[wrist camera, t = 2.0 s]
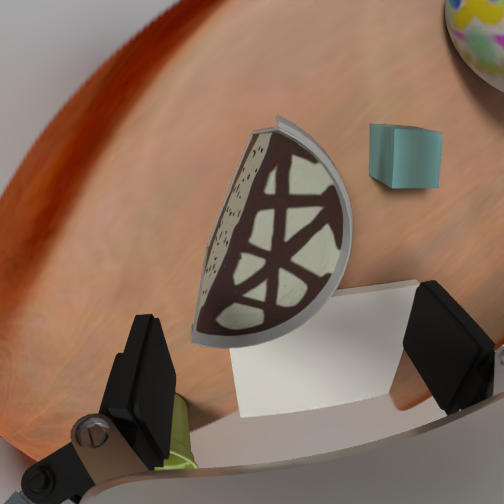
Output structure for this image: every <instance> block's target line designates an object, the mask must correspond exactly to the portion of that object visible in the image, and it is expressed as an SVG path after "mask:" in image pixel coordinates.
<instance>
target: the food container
mask: <svg viewBox="0 0 504 504" xmlns="http://www.w3.org/2000/svg"><path fill="white" fill-rule="evenodd" d="M276 120H277V127H272V128H267V129H261V130H256V131H252V133H251V135H250V138H249V140H248V143H247V145H246V147H245V150H244V152H243V155H242V157H241V160H240V162H239V165H238V167H237V170H236V172H235V174H234V177H233V180H232V182H231V185H230V187H229V190H228V192H227V195H226V197H225V200H224V202H223V205H222V208H221V210H220V213H219V215H218V218H217V221H216V223H215V226H214V228H213V231H212V234H211V236H210V239H209V242H208V244H207V248H206V253H205V259H204V264H203V270H202V276H201V282H200V288H199V294H198V300H197V306H196V313H195V319H194V325H192V327H191V344H195V345H199V346H204V347H212V348H242V347H248V346H254V345H259V344H262V343H266V342H269V341H272V340H275V339H277V338H279V337H282V336H284V335H286V334H288V333H290V332H292V331H293V330H295V329H297V328H298V327H300V326H302V325H303V324H304V323H306V322H307V321H308V320H309V319H311V318H312V317H313V316H314V315H315V314H316V313H317V312H318V311H319V310H320V309H321V308H322V307H323V306H324V305H325V304H326V303H327V302H328V300H329V299H330V297H331V296H332V294H333V293H334V292H335V290H336V289H337V287H338V285H339V283H340V281H341V279H342V277H343V275H344V272H345V269H346V266H347V263H348V259H349V256H350V250H351V243H352V235H353V223H352V211H351V206H350V202H349V197H348V194H347V192H346V189H345V187H344V184H343V182H342V179H341V177H340V175H339V173H338V171H337V169H336V167H335V165H334V164H333V162H332V161H331V159H330V158H329V156H328V155H327V153H326V152H325V150H324V149H323V148H322V147H321V146H320V145H319V144H318V143H317V142H316V141H315V140H314V139H313V138H312V136H310V135H309V134H308V133H306V132H305V131H304V130H302V129H301V128H300V127H298V126H297V125H296V124H294V123H292V122H291V121H289V120H287V119H285V118H283V117H281V116H279V115H277V116H276Z"/></svg>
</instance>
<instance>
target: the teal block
mask: <svg viewBox="0 0 504 504" xmlns="http://www.w3.org/2000/svg"><path fill="white" fill-rule="evenodd" d="M441 150H442V133H441V132H436V131H432V130H428V129H423V128H418V127H413V126H401V125H386V124H370V158H369V175H370V176H372V177H373V178H375V179H377V180H379V181H380V182H382V183H384V184H385V185H387V186H389V187H390V188H438V187H439V177H440V165H441Z"/></svg>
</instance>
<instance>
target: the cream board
mask: <svg viewBox="0 0 504 504" xmlns="http://www.w3.org/2000/svg"><path fill="white" fill-rule="evenodd" d="M419 285H420V283H419V282H418V281H417V280H416V279H413V280H406V281H399V282H392V283H385V284H378V285H370V286H362V287H354V288H346V289H338V290H335V292H334V293H333V294H332V296H331V297H330V299H329V300H328V302H327V303H326V304H325V305H324V306H323V307H322V308H321V309H320V310H319V311H318V312H317V313H316V314H315V315H314V316H313V317H312V318H311V319H309V320H308V321H307V322H306V323H304V324H303V325H302V326H300V327H298V328H297V329H295V330H293V331H292V332H290V333H288V334H286V335H284V336H282V337H279V338H277V339H275V340H272V341H269V342H266V343H262V344H259V345H254V346H248V347H242V348H230V355H231V361H232V368H233V374H234V381H235V387H236V393H237V399H238V405H239V411H240V417H253V416H264V415H273V414H282V413H290V412H297V411H305V410H311V409H318V408H324V407H329V406H335V405H340V404H345V403H351V402H355V401H360V400H365V399H369V398H374V397H378V396H382V395H386V394H388V393H389V390H390V388H391V385H392V382H393V379H394V376H395V374H396V371H397V368H398V365H399V362H400V359H401V355H402V352H403V349H404V347H403V338H404V334H405V331H406V327H407V324H408V320H409V316H410V312H411V308H412V304H413V300H414V296H415V291H416V288H417V287H419Z"/></svg>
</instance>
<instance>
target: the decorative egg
mask: <svg viewBox="0 0 504 504" xmlns="http://www.w3.org/2000/svg"><path fill="white" fill-rule="evenodd" d="M445 19H446V25H447V29H448V32H449V35H450V38H451V40H452V42H453V44H454V46H455V48H456V50H457V51H458V53H459V54H460V56H461V57H462V59H463V60H464V61H465V62H466V63H467V65H468V66H469V67H470V68H471V69H472V70H473V71H474V72H475V73H476V74H477V75H478V76H479V77H481V78H482V79H483V80H484V81H486V82H487V83H488V84H490V85H491V86H493V87H495V88H496V89H498V90H500V91H502V92H504V0H446V3H445Z"/></svg>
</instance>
